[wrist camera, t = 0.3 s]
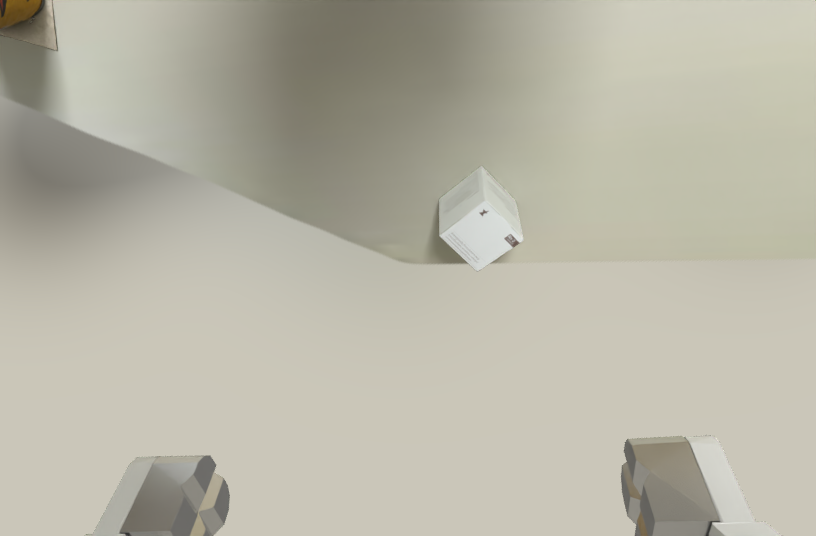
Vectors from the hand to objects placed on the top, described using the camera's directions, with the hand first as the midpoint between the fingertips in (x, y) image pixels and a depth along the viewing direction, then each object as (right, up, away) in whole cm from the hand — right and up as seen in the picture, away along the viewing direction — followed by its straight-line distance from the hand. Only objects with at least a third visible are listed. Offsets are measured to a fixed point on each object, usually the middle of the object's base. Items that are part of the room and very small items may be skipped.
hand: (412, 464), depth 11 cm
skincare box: (+7, +11, +50) cm, 52 cm away
